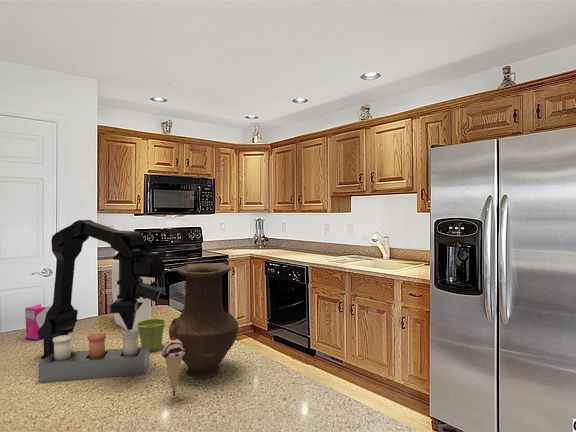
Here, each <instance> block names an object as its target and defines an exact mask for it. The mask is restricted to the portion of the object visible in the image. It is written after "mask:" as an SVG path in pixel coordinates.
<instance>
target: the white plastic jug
mask: <svg viewBox="0 0 576 432" xmlns="http://www.w3.org/2000/svg"><path fill="white" fill-rule="evenodd" d="M117 253H118V251H115V253H114V256H115V255H116V254H117ZM142 279H143V283H146V284H151V283H152V282H151V281H152V279H153V278H150V277H142ZM118 280H119V260H114V259H113V260H112V264H111V295H112V302H113V303H114V302H115V301H116V300H119V299H117V295H119V285H117V281H118ZM137 300H138V302H143V304H142V305H141V306H140V307H139V309H138V310H137V312H136V316H135V320H134V324H133V329H132V330H128V329H127V327H126V325H125V323H124V321H123V320H122V318H121V316H120V314H119V313H113V316H114V321H115V324H116V325H117V326H119V327H121V328H122V329H124V330H125V331H126V332H130V331H137V332H139V330H138V327H137V326H136V323H138V322H140V321H143V320H147V319H152V313H151V310H152V306H151V303H152V301H151V300H150V299H147V298H146V299H143V297H140V299H137Z"/></svg>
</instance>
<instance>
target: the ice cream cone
mask: <svg viewBox="0 0 576 432" xmlns="http://www.w3.org/2000/svg"><path fill="white" fill-rule="evenodd" d="M185 352H186V351H185V349H184V348H183V345H182V343H181V340H178V339H176V338H175V337H172V338H171V339H170V338H169V340H167V341H166V342H165V343H164V346H163V350H162V351H161V356H162V358H164V360H165V363H166V369H167V372H168V376H169V380H170V381H169V382H170V386H171V390H172V394H173V397H175V396H176V390H177V385H178V381H179V375H180V371H181V365H182V362H183V360H182V356H183V355H184V354H185Z"/></svg>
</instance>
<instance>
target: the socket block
mask: <svg viewBox="0 0 576 432" xmlns="http://www.w3.org/2000/svg"><path fill="white" fill-rule="evenodd" d="M37 365H38V368H37V369H38V383H51V382H65V381H74V380H75V381H76V380H89V379H102V378H114V377H115V378H118V377H129V376H141V375H142V376H143V375H145V374H146V372H147V370H148V368H149V365H150V350H149V347H140V346H138V355H133V356H123V348H110V349H105V356H104V358H89V350H79V351H71V358H70V359H69V360H59V361H54V353H51V354H49V355H48V356H47V357H46V358H43V359H42V361H40V362H39V363H38V364H37Z"/></svg>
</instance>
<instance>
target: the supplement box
mask: <svg viewBox="0 0 576 432" xmlns="http://www.w3.org/2000/svg"><path fill="white" fill-rule="evenodd" d="M50 307H51V305H49V304H43V303H41V304H40V303H39V304H36V305H32V306H28V307H25V308H24V312H25V335H26V336H25V337H26V338H25V339H26V340H30V341H34V342H37V341H41V340H42V339H40V338H39V337H38V333H37V331H38V330H39V329H40V328H41V326H42V325H43V324H44V322H45V317H46V313H47V312H48V310H49V309H50Z"/></svg>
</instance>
